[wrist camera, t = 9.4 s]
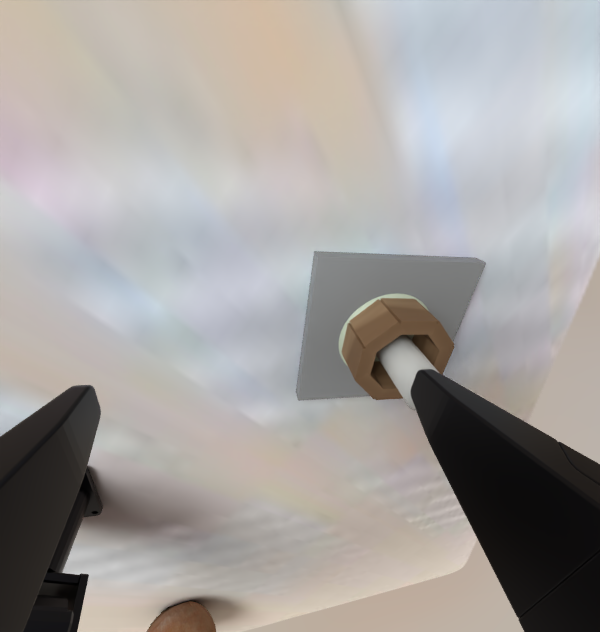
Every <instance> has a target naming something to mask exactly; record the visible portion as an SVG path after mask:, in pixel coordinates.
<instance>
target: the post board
mask: <svg viewBox="0 0 600 632" xmlns="http://www.w3.org/2000/svg"><path fill="white" fill-rule="evenodd" d="M485 264H486V263H485V262H483V261H481V260H479V259H477V258H464V257H439V256H414V255H390V254H365V253H340V252H316V251H314V258H313V266H312V273H311V281H310V289H309V296H308V304H307V312H306V319H305V327H304V335H303V342H302V350H301V357H300V365H299V373H298V380H297V388H296V393H297V398H298V400H313V399H329V398H344V397H360V396H370V395H369V394H368V393H367V392H366V391H365V390H364V389H363V388H362V387H361V386H360V385H359V384H358V383H357V382H356V381H355V379H354V377H353V375H352V373H351V371H350V369H349V367H348V365H347V363H346V361H345V359H344V357H343V355H342V352H341V351H342V347H343V342H344V338H345V333H346V329H347V324H348V323H350V322H349V321H350V320H351V319H353V318H354V317H355V316H356V315H358V314H359V313H360V312H362V311H363V310H364V309H366V308H367V307H368V306H370V305H371V304H372V303H374V302H375V301H376V300H378V299H379V300H381V298H409V299H415V300H417V301H418V302H419V303H420V304H421V305H422V306H423V307H424V308H425V309H427V310H428V311H429V312H430V313H431V314H432V315H433V316H434V317H435V318H436V319H437V320H438V321H440V323H441V324H442V326H443V327H444V329H445V331H446V332H447V334H448V335H449V337H450V338H451V340H452V342H453V340H454V337H455V335H456V333H457V330H458V328H459V326H460V323H461V321H462V319H463V316H464V314H465V312H466V309H467V307H468V304H469V302H470V300H471V297H472V295H473V293H474V290H475V288H476V286H477V283H478V281H479V278H480V276H481V274H482V271H483V269H484V267H485ZM413 336H414V335H400V336H399V337H398V338H396V339H395V340H393V341H392V342H391V343H389V344H388V345H386V346H385V347H384V348H382V349H381V350H379V351H378V352H377V353H376V357H375V360H374V361H380V362H381V364H382V365H383V367H384V369H385V370H386V372H387V373H388V375H389V376H390V378H391V380H392V381H393V383H394V384H395V386H396V387H397V389H398V391H399V392H400V394H401V395H402V397H403V398H404V400H405V402H406V403H407V405H408V406H409V407H410V408H411V409H412V410H416V408H415V406H414V403H413V400H412V398H411V393H410V391H411V387H412V384H413V381H414V379H415V376H416V373H417V372H418V371H419V370H421V369H433V370H435V371H436V372H438V371H437V370H436V368H435V367H434V366H433V365H432V364H431V363H430V361H429V360H428V359H427V358H426V357H425V355H424V354H423V353H422V352H421V351H420V350H419V348H418V347H417V346H416V345H415V344H414V343H413V341H412V339H413ZM438 373H439V372H438Z"/></svg>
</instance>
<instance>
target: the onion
mask: <svg viewBox="0 0 600 632" xmlns="http://www.w3.org/2000/svg"><path fill="white" fill-rule="evenodd" d="M169 608H170V607H168V608H167V609H166V610H164V611H163V612H161V614H160V615H159V616H158V617H156V619H155V620H154V622H153V623H151V624H150V625H151V626H150V627H149V629H148V630H147V631H148V632H216V628H215V624H214V621H213V618H212V617H211V615H210V613H209V612H208V611H207V609H206V608H205V607H204V606H202V605H200V604H199V603H196V602H192V601H188V602H185V603H181V604H179V605H176V606H173V607H171V608H170V609H169Z"/></svg>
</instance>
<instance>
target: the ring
mask: <svg viewBox="0 0 600 632" xmlns="http://www.w3.org/2000/svg"><path fill="white" fill-rule="evenodd" d="M349 322H350V323H348V324H347V329H346V333H345V338H344V342H343V347H342V351H341V352H342V355H343V357H344V359H345V361H346V363H347V365H348V367H349V369H350V371H351V373H352V375H353V377H354V379H355V381H356V382H357V383H358V384H359V385H360V386H361V387H362V388H363V389H364V390H365V391H366V392H367V393H368V394H369V395H370V396H371V397H372V398H373V399H376V400H383V399H399V398H403V397H402V395H401V394H400V392H399V391H398V389H397V387H396V386H395V384H394V383H393V381H392V380H391V378H390V376H389V375H388V373H387V372H386V370H385V369H384V367H383V365H382V364H381V362H380V361H374V360H375V357H376V353H377V352H378V351H379V350H381V349H382V348H384V347H385V346H386V345H388V344H389V343H391V342H392V341H393V340H395V339H396V338H398V337H399V336H400V335H414V336H413V339H412V341H413V343H414V344H415V345H416V346H417V347H418V348H419V350H420V351H421V352H422V353H423V354H424V355H425V357H426V358H427V359H428V360H429V361H430V363H431V364H432V365H433V366H434V367H435V368H436V370H437V371H438V372H439V373H440V374H443V372H444V369H445V367H446V365H447V363H448V360H449V358H450V356H451V353H452V351H453V349H454V346H453V345H454V343H453V342H452V340H451V338H450V337H449V335H448V334H447V332H446V331H445V329H444V327H443V326H442V324H441V323H440V321H438V320H437V319H436V318H435V317H434V316H433V315H432V314H431V313H430V312H429V311H428V310H427V309H425V308H424V307H423V306H422V305H421V304H420V303H419V302H418V301H417V300H415V299H409V298H381V300H379V299H378V300H376V301H375V302H374V303H372V304H371V305H370V306H368V307H367V308H366V309H364V310H363V311H362V312H360V313H359V314H358V315H356V316H355V317H354V318H353V319H351V320H350V321H349Z"/></svg>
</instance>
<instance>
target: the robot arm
mask: <svg viewBox="0 0 600 632" xmlns="http://www.w3.org/2000/svg"><path fill="white" fill-rule="evenodd" d="M410 393H411V398H412V400H413V403H414V406H415V408H416V411H417V413H418V416H419V418H420V421H421V424H422V426H423V429H424V431H425V434H426V436H427V439H428V441H429V443H430V445H431V447H432V450H433V451H434V453H435V455H436V457H437V459H438V461H439V463H440V465H441V467H442V469H443V471H444V473H445V475H446V477H447V479H448V481H449V483H450V485H451V487H452V489H453V491H454V493H455V495H456V497H457V499H458V501H459V503H460V505H461V507H462V509H463V511H464V513H465V515H466V517H467V519H468V521H469V523H470V525H471V527H472V529H473V531H474V532H475V534H476V536H477V538H478V540H479V542H480V544H481V546H482V548H483V550H484V552H485V554H486V556H487V558H488V560H489V562H490V564H491V566H492V568H493V570H494V572H495V574H496V575H497V578H498V580H499V582H500V584H501V586H502V588H503V590H504V592H505V594H506V596H507V598H508V600H509V601H510V604H511V605H512V608H513V609H514V611H515V613H516V615H517V617H518V618H519V621H520V624H521V626H522V628H523V630H524V632H600V464H598V463H597V462H595V461H593V460H591V459H589V458H587V457H586V456H584V455H582V454H580V453H578V452H577V451H575V450H573V449H571V448H570V447H568V446H566V445H564V444H563V443H561V442H557V440H555V439H554V438H552V437H550V436H549V435H547V434H545V433H543V432H542V431H540V430H538V429H536V428H534V427H533V426H531V425H529V424H528V423H526V422H524V421H522V420H521V419H519V418H517V417H515V416H514V415H512V414H510V413H508V412H507V411H505V410H503V409H501V408H500V407H498V406H496V405H494V404H493V403H491V402H489V401H487V400H486V399H484V398H482V397H480V396H479V395H477V394H475V393H473V392H472V391H470V390H468V389H466V388H465V387H463V386H461V385H459V384H458V383H456V382H454V381H452V380H451V379H449V378H447V377H445V376H443V375H442V374H440V373H438V372H436V371H435V370H433V369H421V370H419V371H418V372H417V373H416V376H415V379H414V381H413V384H412V387H411V391H410ZM100 415H101V410H100V406H99V402H98V399H97V396H96V392H95V389H94V387H93V386H91V385H78V386H72V387H71V388H69V389H67V390H66V391H65V392H63V393H62V394H60V395H59V396H58V397H56V398H55V399H53V400H52V401H50V402H49V403H48V404H46V405H45V406H43V407H42V408H40V409H39V410H38V411H36V412H35V413H33V414H32V415H31V416H29V417H28V418H26V419H25V420H23V421H22V422H21V423H19V424H18V425H16V426H15V427H13V428H12V429H11V430H9V431H8V432H6V433H5V434H3V435H2V436H1V437H0V632H77V629H78V624H79V620H80V615H81V610H82V605H83V600H84V595H85V591H86V586H87V581H88V576H89V575H88V574H80V575H75V574H65V573H62V572H63V569H64V566H65V564H66V561H67V559H68V556H69V553H70V551H71V548H72V546H73V543H74V540H75V538H76V535H77V532H78V530H79V527H80V525H81V522H82V519H83V517H89V516H96V515H99V514H101V512H102V509H103V507H102V504H101V502H100V499H99V496H98V494H97V491H96V488H95V486H94V483H93V481H92V478H91V475H90V473H89V470H88V469H87V464H88V461H89V457H90V453H91V450H92V446H93V442H94V438H95V435H96V431H97V427H98V424H99V420H100Z"/></svg>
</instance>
